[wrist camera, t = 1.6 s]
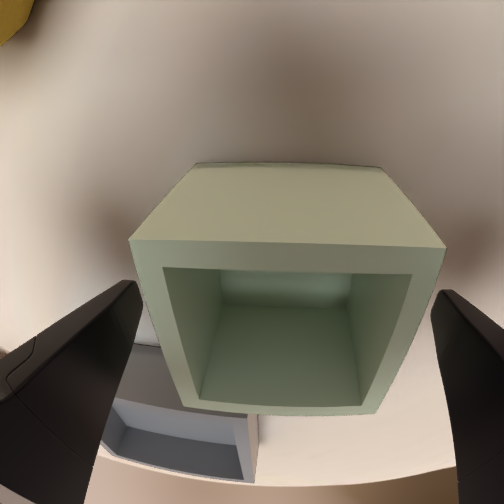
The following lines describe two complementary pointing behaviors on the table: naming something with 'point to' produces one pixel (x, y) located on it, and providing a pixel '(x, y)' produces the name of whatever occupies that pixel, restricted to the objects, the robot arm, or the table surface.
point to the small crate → (285, 285)
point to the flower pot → (13, 17)
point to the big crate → (176, 426)
